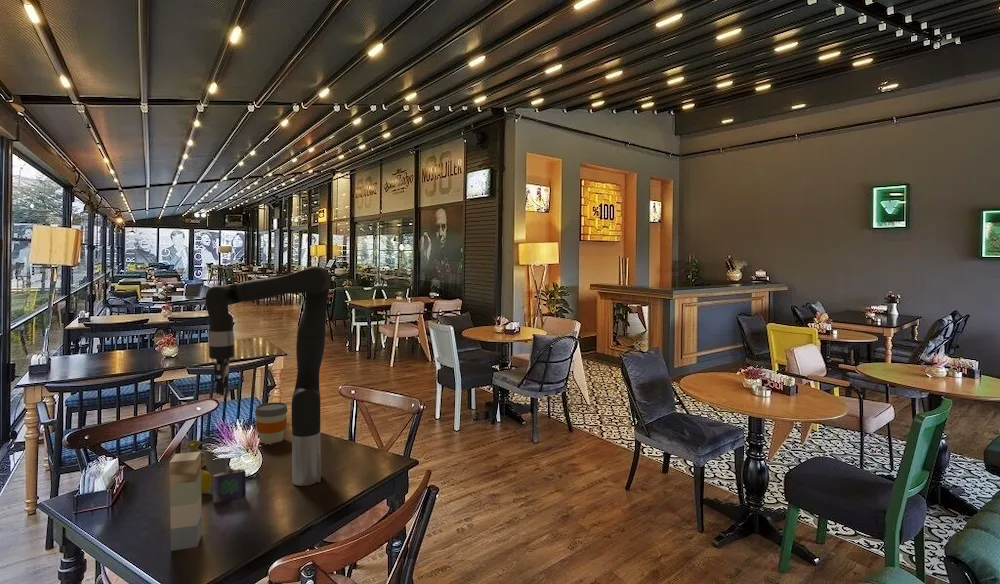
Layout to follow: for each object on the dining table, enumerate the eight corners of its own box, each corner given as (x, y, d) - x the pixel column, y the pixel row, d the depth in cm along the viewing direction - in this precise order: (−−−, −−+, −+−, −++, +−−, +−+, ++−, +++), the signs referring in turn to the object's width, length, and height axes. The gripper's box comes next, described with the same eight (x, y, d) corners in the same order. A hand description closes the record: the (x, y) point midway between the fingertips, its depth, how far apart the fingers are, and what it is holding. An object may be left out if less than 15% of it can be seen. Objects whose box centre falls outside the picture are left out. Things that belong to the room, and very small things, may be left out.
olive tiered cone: (209, 466, 185) (209, 439, 185) (188, 473, 179) (188, 445, 178) (199, 461, 189) (199, 435, 189) (178, 468, 183) (177, 441, 182)
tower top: (201, 493, 138) (201, 472, 138) (196, 503, 133) (196, 481, 132) (176, 496, 136) (175, 475, 136) (170, 506, 131) (169, 484, 130)
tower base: (201, 535, 139) (201, 514, 139) (197, 546, 133) (196, 525, 133) (176, 539, 137) (176, 517, 137) (171, 550, 131) (170, 528, 131)
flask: (213, 504, 156) (212, 471, 156) (213, 500, 159) (212, 467, 158) (246, 498, 161) (245, 465, 161) (245, 494, 164) (245, 462, 163)
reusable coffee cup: (289, 443, 210) (289, 408, 209) (256, 448, 204) (256, 412, 203) (285, 434, 221) (285, 400, 220) (254, 438, 215) (254, 404, 214)
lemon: (202, 498, 160) (202, 474, 160) (188, 496, 161) (187, 472, 161) (215, 491, 165) (215, 467, 165) (201, 489, 167) (201, 465, 166)
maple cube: (201, 472, 138) (200, 451, 138) (196, 481, 132) (195, 459, 132) (175, 475, 136) (175, 453, 135) (169, 484, 130) (169, 462, 130)
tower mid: (201, 514, 139) (201, 493, 138) (196, 525, 133) (196, 503, 133) (176, 517, 137) (176, 496, 136) (170, 529, 131) (170, 506, 131)
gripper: (230, 346, 165) (231, 395, 165) (236, 340, 178) (237, 384, 179) (204, 347, 162) (205, 396, 163) (212, 341, 175) (213, 386, 176)
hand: (222, 390), depth 171 cm, fingers open, 8 cm apart
